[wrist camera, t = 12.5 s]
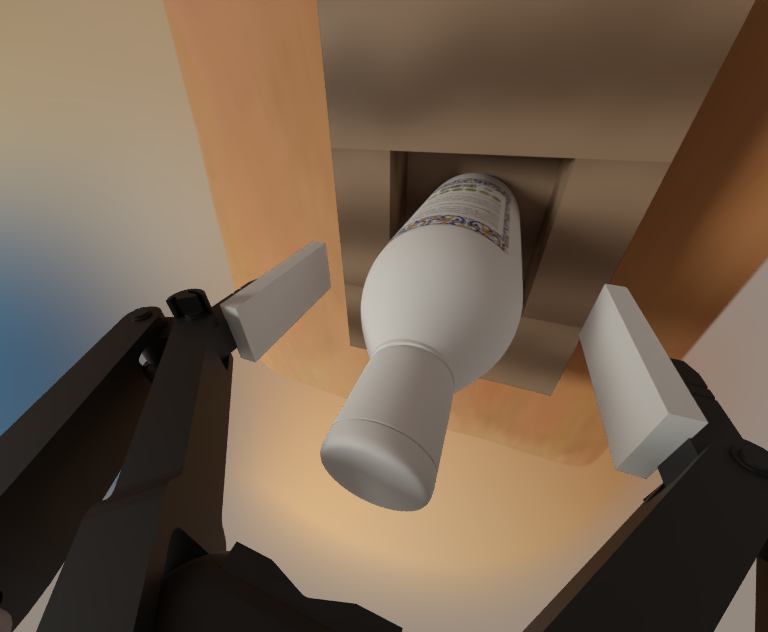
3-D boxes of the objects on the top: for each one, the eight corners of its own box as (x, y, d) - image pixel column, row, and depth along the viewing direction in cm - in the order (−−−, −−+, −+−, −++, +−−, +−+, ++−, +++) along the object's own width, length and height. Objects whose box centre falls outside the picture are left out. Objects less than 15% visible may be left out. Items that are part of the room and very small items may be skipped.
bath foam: (410, 197, 23) (198, 391, 8) (502, 150, 19) (451, 346, 4) (444, 274, 25) (340, 530, 10) (531, 245, 22) (569, 584, 6)
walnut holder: (357, 11, 18) (315, -13, 15) (715, -26, 13) (795, -77, 10) (369, 317, 32) (350, 345, 29) (545, 355, 27) (550, 395, 24)
